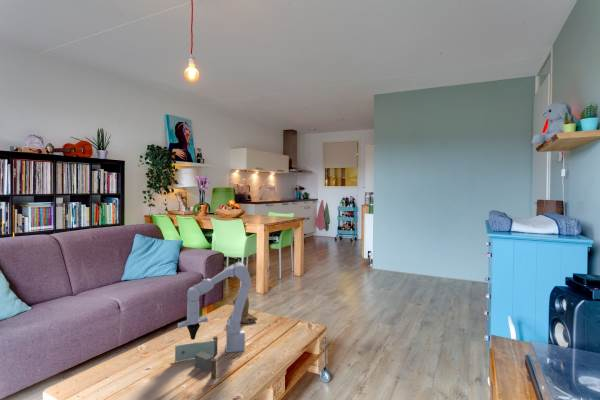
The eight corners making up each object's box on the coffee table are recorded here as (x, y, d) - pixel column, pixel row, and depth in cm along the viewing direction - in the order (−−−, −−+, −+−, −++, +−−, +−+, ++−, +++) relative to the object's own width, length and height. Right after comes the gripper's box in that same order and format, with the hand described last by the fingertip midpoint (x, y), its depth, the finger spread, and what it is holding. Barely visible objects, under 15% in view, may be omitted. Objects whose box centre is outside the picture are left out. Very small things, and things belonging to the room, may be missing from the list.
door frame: (217, 351, 164) (217, 336, 163) (215, 378, 140) (215, 360, 140) (213, 352, 163) (213, 336, 163) (211, 379, 140) (211, 361, 140)
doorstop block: (213, 368, 148) (213, 355, 148) (206, 372, 145) (206, 359, 145) (201, 363, 153) (201, 351, 152) (194, 367, 149) (194, 354, 149)
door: (216, 352, 162) (216, 338, 162) (216, 354, 160) (216, 340, 159) (175, 359, 154) (175, 345, 154) (175, 362, 152) (175, 347, 152)
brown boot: (229, 318, 207) (230, 295, 206) (246, 314, 214) (246, 291, 213) (240, 326, 194) (240, 301, 194) (257, 322, 201) (258, 298, 201)
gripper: (203, 306, 169) (203, 332, 169) (175, 312, 160) (175, 339, 160) (209, 310, 164) (209, 336, 164) (180, 317, 154) (180, 345, 155)
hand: (192, 338), depth 162 cm, fingers closed
